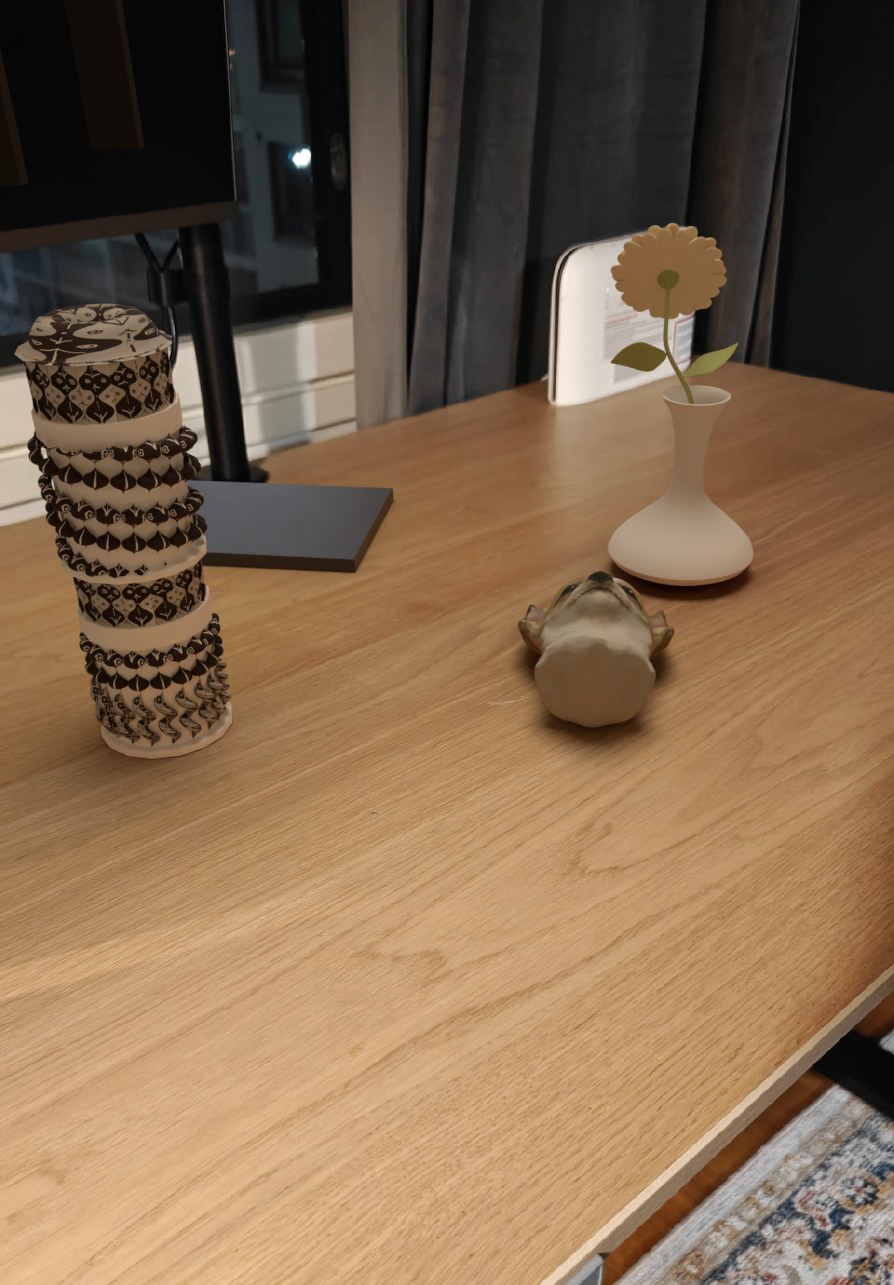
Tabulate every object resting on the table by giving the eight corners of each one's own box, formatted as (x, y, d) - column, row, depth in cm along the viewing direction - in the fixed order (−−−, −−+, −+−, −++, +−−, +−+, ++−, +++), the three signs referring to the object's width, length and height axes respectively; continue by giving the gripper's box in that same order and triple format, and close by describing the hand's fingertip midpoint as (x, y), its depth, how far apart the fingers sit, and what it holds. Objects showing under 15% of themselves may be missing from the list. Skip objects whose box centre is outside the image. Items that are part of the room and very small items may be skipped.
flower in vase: (769, 557, 92) (822, 218, 78) (721, 612, 85) (770, 246, 70) (622, 528, 98) (645, 206, 84) (564, 577, 90) (578, 231, 76)
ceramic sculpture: (507, 612, 66) (523, 527, 78) (503, 742, 70) (520, 642, 83) (693, 620, 64) (680, 533, 77) (677, 752, 69) (667, 649, 82)
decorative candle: (105, 776, 68) (2, 345, 54) (86, 703, 76) (-9, 305, 61) (253, 743, 71) (193, 324, 57) (222, 676, 78) (161, 288, 64)
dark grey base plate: (90, 560, 95) (82, 526, 93) (159, 491, 108) (153, 460, 106) (355, 573, 92) (352, 538, 90) (393, 500, 104) (392, 468, 103)
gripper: (-169, -634, 32) (15, 204, 44) (154, -396, 52) (219, 136, 64) (-403, -607, 33) (-159, 205, 45) (2, -384, 53) (94, 137, 65)
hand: (63, 165), depth 55 cm, fingers open, 13 cm apart
